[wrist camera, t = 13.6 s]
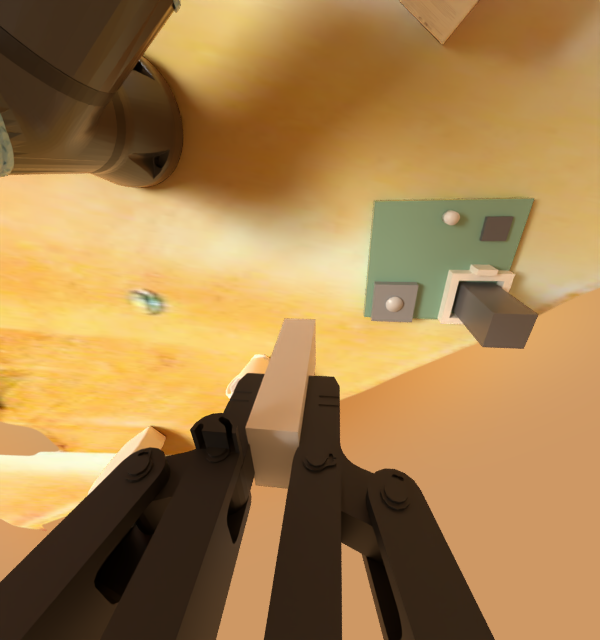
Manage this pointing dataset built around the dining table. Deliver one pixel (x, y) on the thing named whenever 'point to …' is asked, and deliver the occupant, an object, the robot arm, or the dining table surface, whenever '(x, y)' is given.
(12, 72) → the robot arm
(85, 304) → the dining table surface
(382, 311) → the grey push button
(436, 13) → the small box
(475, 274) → the frame
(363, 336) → the dining table surface
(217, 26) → the dining table surface
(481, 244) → the board
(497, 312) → the plug
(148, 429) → the soap bottle
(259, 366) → the cup
